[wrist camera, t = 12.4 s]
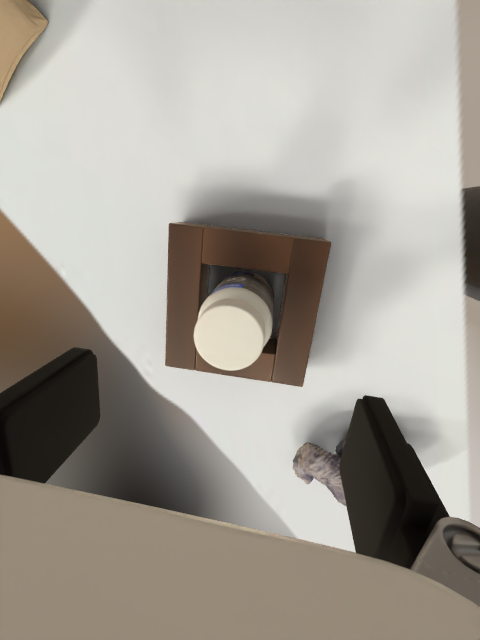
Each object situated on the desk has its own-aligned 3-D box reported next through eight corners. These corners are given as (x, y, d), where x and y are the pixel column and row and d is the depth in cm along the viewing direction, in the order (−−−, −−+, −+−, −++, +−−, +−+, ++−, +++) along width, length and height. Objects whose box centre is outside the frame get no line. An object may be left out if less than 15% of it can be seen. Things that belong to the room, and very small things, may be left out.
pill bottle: (246, 257, 24) (229, 279, 16) (286, 301, 24) (290, 343, 17) (203, 297, 25) (169, 335, 17) (242, 338, 26) (227, 392, 18)
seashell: (291, 448, 30) (397, 440, 29) (299, 512, 27) (418, 506, 26) (288, 435, 26) (413, 425, 25) (296, 509, 23) (439, 502, 22)
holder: (325, 238, 23) (331, 242, 20) (300, 368, 26) (302, 387, 23) (181, 222, 23) (168, 223, 21) (176, 350, 27) (164, 366, 24)
